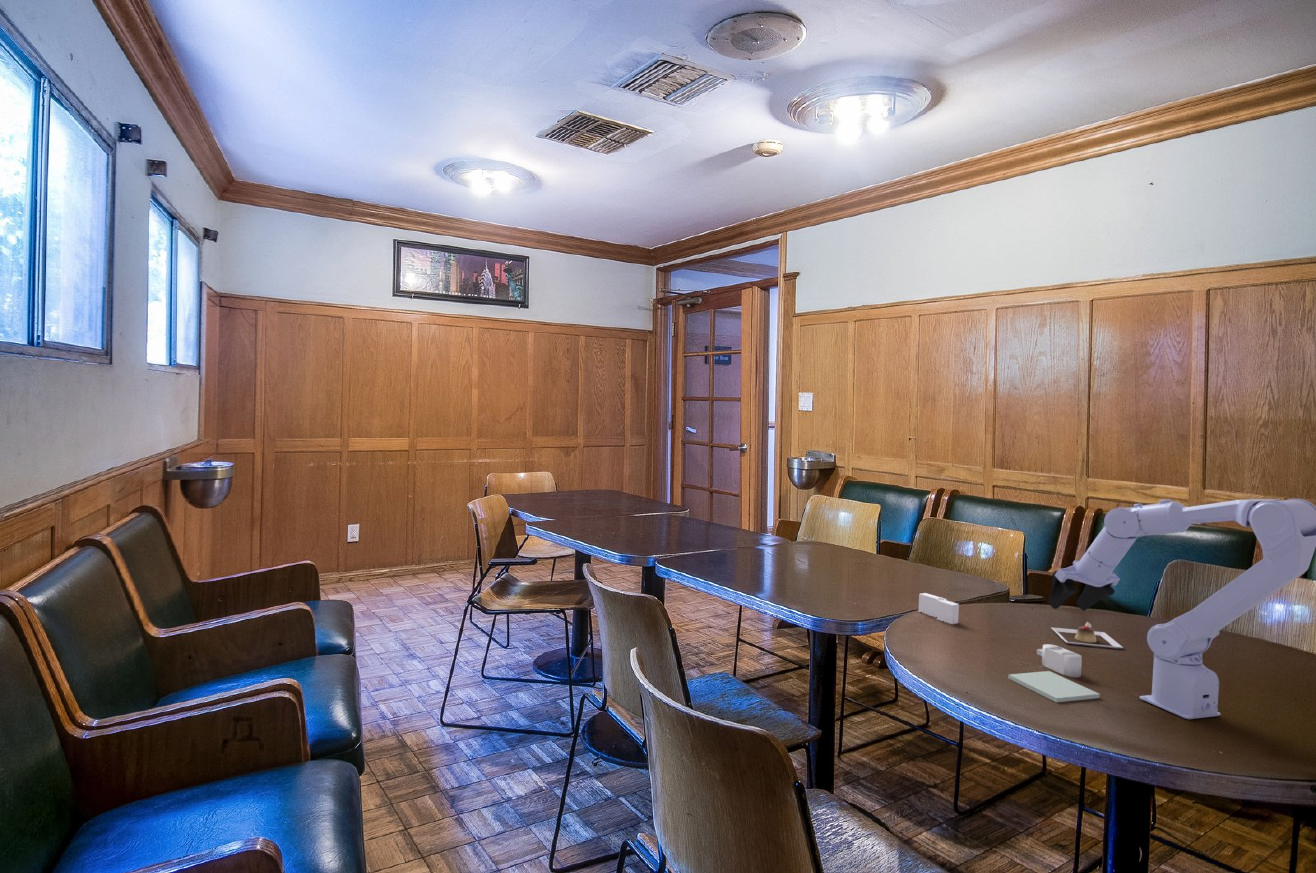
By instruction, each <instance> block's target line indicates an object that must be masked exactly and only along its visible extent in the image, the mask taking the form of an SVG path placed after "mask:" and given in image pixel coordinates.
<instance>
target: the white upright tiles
mask: <svg viewBox="0 0 1316 873" xmlns="http://www.w3.org/2000/svg"><path fill="white" fill-rule="evenodd" d="M959 608H960V604H959V603H956V602H953V601H950V600H948V599H947V598H944V597H941V596H937V595H934V594H930V593H927V592H923V593H919V594H918V610H917V611H918V613H920V612H922V613H921V614H923V613H924V614H923V615H926V614H927V616H930V617H933V618H935V619H936V620H937V621H941V622H943V621H944V622H943V623H947V624H949V625H955V624H956V625H957V624H959V616H960V615H959V612H960V609H959ZM936 617H937V618H936Z"/></svg>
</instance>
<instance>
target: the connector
mask: <svg viewBox="0 0 1316 873" xmlns="http://www.w3.org/2000/svg"><path fill="white" fill-rule="evenodd" d="M1036 655H1037V656H1041V665H1042V666H1043V667H1045V668H1047V669H1050V670H1052V671H1054V672H1056V673H1057V674H1058V673H1059V674H1061V675H1063V676H1066V677H1068V678H1069V677H1070V678H1081V677H1082V664H1083V663H1082V658H1083V656H1082V655H1081V654H1079V653H1076V652H1073V651H1072V650H1069V649H1067V648H1064V647H1061V646H1059V645H1055V644H1048V643H1047V644H1042V648H1038V649H1036Z"/></svg>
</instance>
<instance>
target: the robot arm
mask: <svg viewBox="0 0 1316 873" xmlns="http://www.w3.org/2000/svg"><path fill="white" fill-rule="evenodd" d="M1158 501H1159V502H1158V503H1151V504H1145V505H1144V504H1143V503H1134V504H1133V507H1121V506H1119V507H1115V508H1113V509H1110V510H1109V511H1108V512H1107V513H1106V514H1105V516H1104V520H1103V522H1104V523H1103V524H1104V526H1103V527H1102V529H1101V530H1100V532H1098V534H1097V536H1096V537H1095V538H1094V540H1093V542H1092V543H1091V544H1090V546H1089V547H1088V548H1087V550H1086V551H1085V553H1084V554H1083V556H1082V557H1081V558H1080V560H1073V562H1072V565H1070V566H1068V567H1065V568H1063V567H1062V568H1058V569H1057V570H1054V571H1053V573H1052V576H1051V577H1052V586H1051V591H1050V595H1049V597H1048V600H1047V603H1048V604H1049V605H1050V607H1051V608H1053V609H1054V610H1057V609H1059V608H1060V607H1061V606H1062V605H1063V604H1064V602H1065V601H1066V600H1067V599H1068V598H1070V597H1071V596H1072V595H1074V594H1076V593H1078V592H1079V590H1078V589H1077V588H1076V587H1075V586H1074V584H1075V583H1074V582H1079V583H1083V584H1085V585H1084V586H1083V590H1081V591H1082V592H1081V593H1080V595H1079V596H1078V598H1077V599H1076V603H1075V604H1076V605H1077V606H1078V608H1079V609H1080V610H1081V611H1084V612H1086V610H1087V609H1089V608H1091V607H1092V606H1093V605H1095V604H1096V603H1098V602H1099V601H1101V600H1103V599H1105V598H1108V597H1110V596H1112V595H1114V594H1115V589H1114V588H1113V587H1115V586H1117V584H1118V583H1119V582H1120V580H1121V578H1119V576H1118V575H1117V574H1116V573H1115V572H1114V570H1115V569H1116V567H1117V566H1118V565H1119V564H1120V562H1121V560H1122V559H1123V558H1124V557H1125V555H1126V554H1127V552H1128V551H1129V550H1130V549H1131V547H1132V546H1133V545H1134V543H1135V542H1136V540H1137V539H1138V538H1142V537H1144V536H1156V535H1168V534H1178V533H1185V532H1186V531H1187V530H1188V529H1189V528H1190V526H1191V525H1192V524H1193V525H1194V524H1206V523H1219V522H1221V523H1222V522H1232V521H1233V522H1236V523H1238V524H1239V525H1240V526H1242V527H1244V528H1249V527H1251V529H1252V531H1253V534H1254V535H1255V537H1256V539H1257V541H1258V543H1259V544H1260V547H1261V550H1262V559H1261V560H1259V561H1258V562H1256V563H1255V564H1253V565H1252V566H1251V567H1249V568H1248V569H1246V570H1245V571H1244V572H1242V573H1241V574H1240V575H1238V576H1237V577H1235V578H1234V579H1232V580H1231V581H1230V582H1228V583H1227V584H1226V585H1224V586H1223V587H1221V589H1219V590H1217V591H1216V592H1215V593H1213V594H1212V595H1211V596H1209V597H1207V598H1206V599H1205V600H1203V601H1202V602H1201V603H1199V604H1197V605H1196V607H1194V608H1193V609H1191V610H1189V611H1187V612H1185V613H1183V614H1180V615H1178V616H1177V617H1175V618H1173V619H1172V620H1171V619H1170V621H1168V622H1166V623H1159V624H1154V625H1152V626H1151V627H1150V628H1149V629H1148V631H1147V633H1146V641H1147V642H1146V643H1147V644H1148V647H1149V649H1150V651H1151V652H1153V665H1152V666H1153V668H1152V686H1151V687H1152V688H1151V694H1147V695H1140V696H1139V699H1140V700H1142V701H1144V702H1147V703H1149V704H1152V705H1153V706H1156V707H1158V708H1161V709H1163V710H1165V711H1167V712H1169V713H1172V714H1174V715H1177V716H1179V717H1181V718H1183V719H1187V720H1193V719H1194V720H1195V719H1201V718H1202V719H1203V718H1209V717H1210V718H1213V717H1220V716H1221V712H1219V710H1218V708H1219V707H1218V705H1219V692H1220V690H1219V689H1220V680H1219V677H1218V674H1217V673H1216V672H1215V671H1213V670H1212V669H1209V668H1208V667H1206V665H1204V663H1203V653H1205V652H1207V650H1209V648H1210V647H1211V644H1212V641H1213V640H1214V639H1215V638H1216V637H1218V636H1219V635H1220V631H1221V630H1222V629H1224V628H1225V627H1227V626H1229V624H1231V623H1232V622H1234V621H1236V620H1237V619H1238V618H1240V617H1241V616H1243V615H1245V614H1246V613H1247V612H1250V610H1252V609H1253V608H1255V607H1256V606H1257V605H1259V604H1261V603H1262V602H1264V601H1265V600H1267V599H1268V598H1269V597H1271V596H1272V595H1274V594H1275V593H1277V592H1278V591H1280V590H1281V589H1283V588H1284V587H1286V586H1287V585H1288V584H1290V583H1292V582H1293V581H1295V580H1297V579H1298V578H1299V577H1301V576H1302V575H1304V574H1305V573H1306V572H1307V571H1308V570H1309V568H1310V565H1311V561H1312V560H1313V559H1312V558H1313V556H1314V553H1315V549H1316V505H1315V504H1314V503H1312V502H1310V501H1308V500H1307V499H1301V498H1290V499H1286V500H1282V499H1281V498H1280V499H1277V498H1276V499H1275V498H1274V499H1273V498H1269V499H1268V498H1266V499H1264V498H1262V499H1261V498H1260V499H1259V498H1254V499H1253V498H1250V499H1249V498H1248V499H1247V498H1246V499H1236V500H1227V501H1222V502H1215V503H1208V504H1201V505H1193V506H1189V507H1188V506H1185V505H1184V504H1183V503H1181V502H1179V501H1175V500H1174V501H1172V500H1171V498H1167V499H1160V500H1158Z"/></svg>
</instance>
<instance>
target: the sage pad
mask: <svg viewBox="0 0 1316 873" xmlns="http://www.w3.org/2000/svg"><path fill="white" fill-rule="evenodd" d="M1007 678H1008V679H1009V680H1010V681H1013V682H1014V683H1017V684H1019V685H1020V686H1023V687H1024V688H1027V689H1029V690H1031V691H1033V692H1034V693H1037V694H1038V695H1040V696H1043V697H1044V698H1047V699H1049V700H1051V701H1053V702H1055V703H1066V702H1075V701H1084V700H1094V699H1100V697H1101V696H1100V695H1101V694H1100V693H1099V692H1096V691H1094V690H1092V689H1090V688H1087V687H1086V686H1083V685H1081V684H1078V683H1076V682H1075V681H1072V680H1070V679H1068V678H1066V677H1064V676H1061V675H1059V674H1058V673H1054V672H1052V671H1050V670H1046V671H1034V672H1024V673H1023V672H1021V673H1010V674H1008V677H1007Z"/></svg>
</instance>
